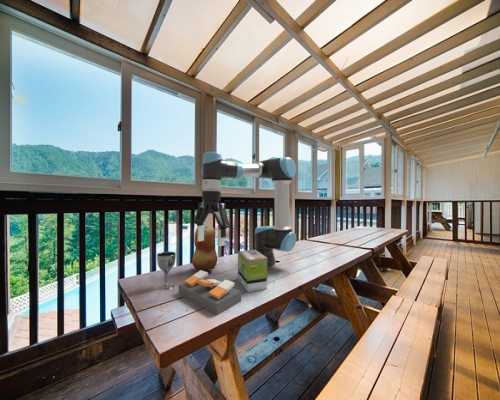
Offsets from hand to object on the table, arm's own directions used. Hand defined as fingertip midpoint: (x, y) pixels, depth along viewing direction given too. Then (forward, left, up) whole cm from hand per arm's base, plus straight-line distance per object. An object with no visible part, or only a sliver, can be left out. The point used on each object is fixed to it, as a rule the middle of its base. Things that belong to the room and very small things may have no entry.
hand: (210, 243), depth 85 cm
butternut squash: (-18, -25, -23) cm, 39 cm away
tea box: (-22, +5, -23) cm, 32 cm away
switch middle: (0, 0, -18) cm, 18 cm away
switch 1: (0, -8, -18) cm, 19 cm away
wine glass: (+6, -23, -23) cm, 33 cm away
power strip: (-4, 0, -23) cm, 23 cm away
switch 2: (0, +8, -18) cm, 19 cm away
